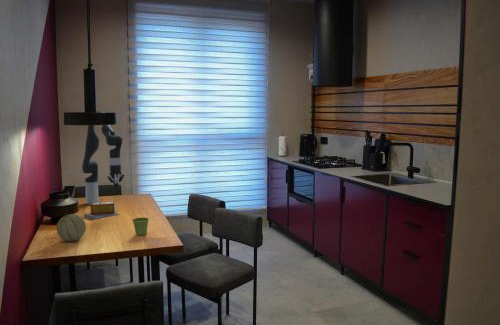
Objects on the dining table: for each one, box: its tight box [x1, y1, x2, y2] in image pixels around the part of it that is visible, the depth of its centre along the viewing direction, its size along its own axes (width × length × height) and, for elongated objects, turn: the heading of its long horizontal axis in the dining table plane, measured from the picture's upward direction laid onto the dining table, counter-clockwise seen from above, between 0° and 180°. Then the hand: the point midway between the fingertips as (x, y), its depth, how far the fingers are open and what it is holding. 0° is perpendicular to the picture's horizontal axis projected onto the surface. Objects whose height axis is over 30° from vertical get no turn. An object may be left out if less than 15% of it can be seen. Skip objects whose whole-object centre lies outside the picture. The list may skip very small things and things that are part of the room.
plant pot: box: [132, 217, 150, 236], centre depth 237 cm, size 9×9×9 cm
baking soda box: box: [90, 201, 117, 215], centre depth 292 cm, size 10×6×16 cm
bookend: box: [83, 212, 120, 221], centre depth 283 cm, size 12×19×2 cm, turn 139°
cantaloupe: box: [56, 213, 87, 242], centre depth 225 cm, size 15×15×15 cm
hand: (116, 188), depth 290 cm, fingers closed
